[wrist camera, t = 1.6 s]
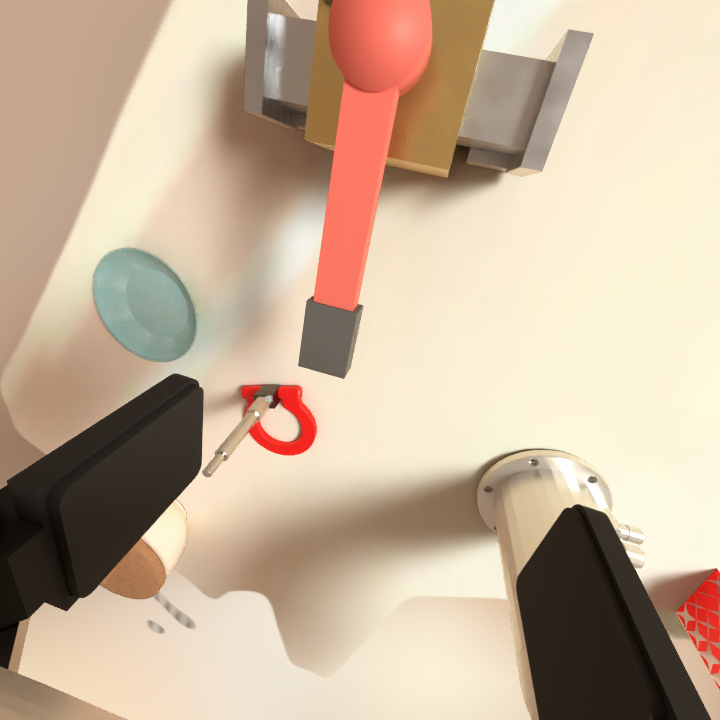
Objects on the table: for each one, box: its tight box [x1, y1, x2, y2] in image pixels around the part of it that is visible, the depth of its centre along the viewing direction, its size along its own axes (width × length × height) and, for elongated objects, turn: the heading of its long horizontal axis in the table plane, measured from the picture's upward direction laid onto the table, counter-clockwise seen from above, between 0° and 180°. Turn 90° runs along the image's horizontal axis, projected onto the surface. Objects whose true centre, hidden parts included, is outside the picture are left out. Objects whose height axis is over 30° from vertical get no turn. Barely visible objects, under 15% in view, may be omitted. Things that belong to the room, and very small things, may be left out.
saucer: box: [93, 248, 197, 362], centre depth 37 cm, size 12×12×2 cm
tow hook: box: [202, 385, 317, 477], centre depth 36 cm, size 8×13×9 cm
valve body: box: [243, 0, 593, 178], centre depth 20 cm, size 18×8×14 cm, turn 79°
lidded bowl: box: [99, 499, 187, 599], centre depth 48 cm, size 13×13×11 cm
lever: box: [298, 0, 433, 379], centre depth 18 cm, size 18×4×2 cm, turn 169°
